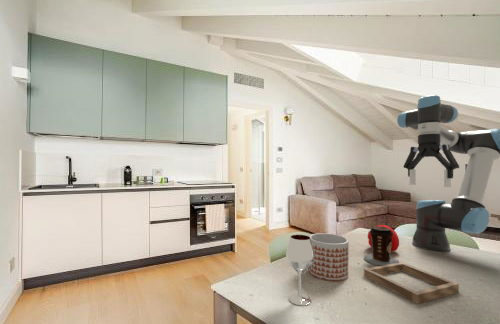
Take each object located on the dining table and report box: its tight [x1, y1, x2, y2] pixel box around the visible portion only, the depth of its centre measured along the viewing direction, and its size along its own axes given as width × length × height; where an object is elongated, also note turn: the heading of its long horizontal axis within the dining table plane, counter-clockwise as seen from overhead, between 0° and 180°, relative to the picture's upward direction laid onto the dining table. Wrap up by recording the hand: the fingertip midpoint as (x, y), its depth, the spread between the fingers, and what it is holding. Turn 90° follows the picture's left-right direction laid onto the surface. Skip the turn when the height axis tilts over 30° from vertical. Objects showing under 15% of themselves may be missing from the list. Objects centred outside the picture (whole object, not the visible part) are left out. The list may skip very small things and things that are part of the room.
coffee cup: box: [369, 225, 393, 262], centre depth 102 cm, size 9×8×13 cm
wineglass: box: [285, 234, 315, 307], centre depth 71 cm, size 8×8×18 cm
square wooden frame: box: [363, 261, 460, 304], centre depth 82 cm, size 19×19×2 cm
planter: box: [308, 232, 349, 282], centre depth 90 cm, size 14×14×13 cm
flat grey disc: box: [363, 253, 400, 266], centre depth 102 cm, size 13×13×1 cm
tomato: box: [367, 224, 400, 253], centre depth 116 cm, size 13×13×13 cm
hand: (428, 185), depth 100 cm, fingers open, 13 cm apart
